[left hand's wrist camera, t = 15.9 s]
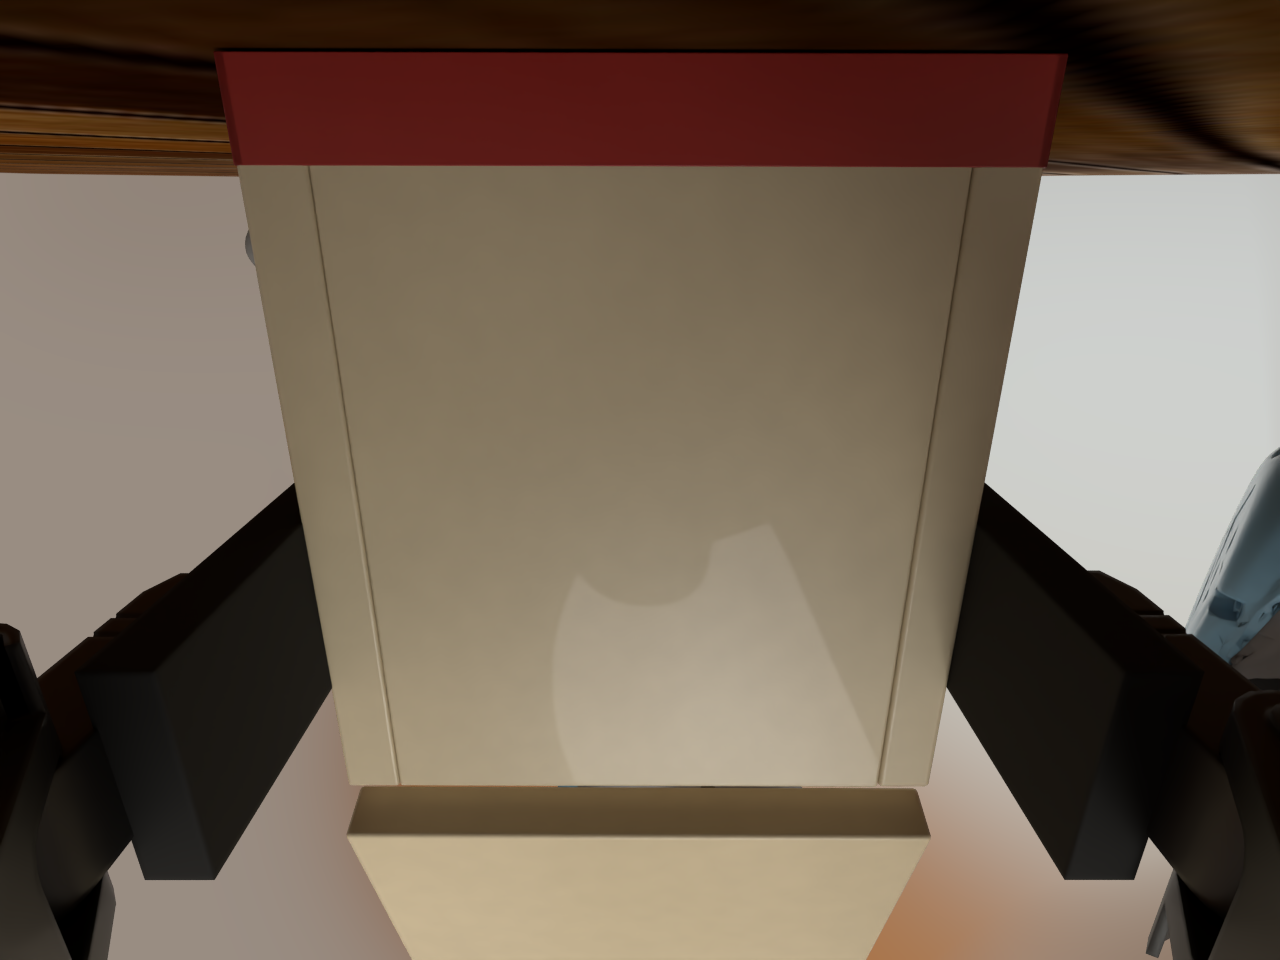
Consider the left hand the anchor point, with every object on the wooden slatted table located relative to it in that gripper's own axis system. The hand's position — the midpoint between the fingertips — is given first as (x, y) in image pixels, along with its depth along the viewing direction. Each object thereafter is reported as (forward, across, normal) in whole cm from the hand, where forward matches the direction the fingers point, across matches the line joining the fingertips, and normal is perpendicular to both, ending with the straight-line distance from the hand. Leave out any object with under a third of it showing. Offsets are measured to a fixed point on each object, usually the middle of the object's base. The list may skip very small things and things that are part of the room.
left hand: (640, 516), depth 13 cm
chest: (+5, 0, -7) cm, 9 cm away
